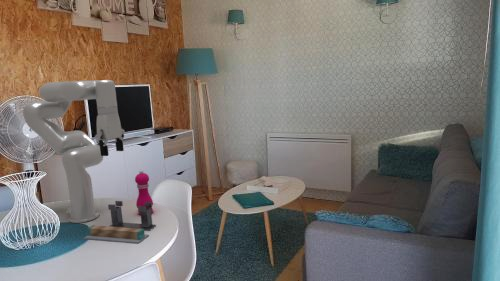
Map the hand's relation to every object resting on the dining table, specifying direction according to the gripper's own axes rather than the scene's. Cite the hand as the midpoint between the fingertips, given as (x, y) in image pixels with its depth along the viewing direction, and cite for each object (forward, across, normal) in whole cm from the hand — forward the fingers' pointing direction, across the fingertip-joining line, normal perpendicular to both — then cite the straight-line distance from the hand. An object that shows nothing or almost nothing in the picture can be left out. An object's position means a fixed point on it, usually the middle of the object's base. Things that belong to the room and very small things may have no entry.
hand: (112, 153), depth 156 cm
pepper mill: (+31, -14, +3) cm, 34 cm away
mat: (+30, +12, +7) cm, 34 cm away
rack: (+30, +2, +7) cm, 31 cm away
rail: (+30, +12, +7) cm, 33 cm away
